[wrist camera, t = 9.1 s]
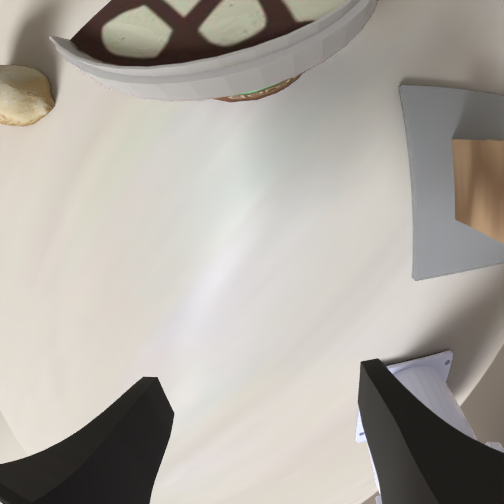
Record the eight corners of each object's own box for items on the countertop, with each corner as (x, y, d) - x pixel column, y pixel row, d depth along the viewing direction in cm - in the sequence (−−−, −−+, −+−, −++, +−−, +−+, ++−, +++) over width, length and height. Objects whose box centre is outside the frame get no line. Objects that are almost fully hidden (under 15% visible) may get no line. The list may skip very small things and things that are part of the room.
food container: (212, 167, 17) (134, 190, 7) (151, 91, 15) (37, 50, 6) (381, 53, 13) (471, -19, 4) (315, -18, 12) (341, -124, 3)
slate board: (521, 254, 16) (525, 257, 16) (412, 277, 18) (415, 280, 17) (517, 100, 13) (522, 99, 12) (398, 86, 14) (402, 84, 13)
